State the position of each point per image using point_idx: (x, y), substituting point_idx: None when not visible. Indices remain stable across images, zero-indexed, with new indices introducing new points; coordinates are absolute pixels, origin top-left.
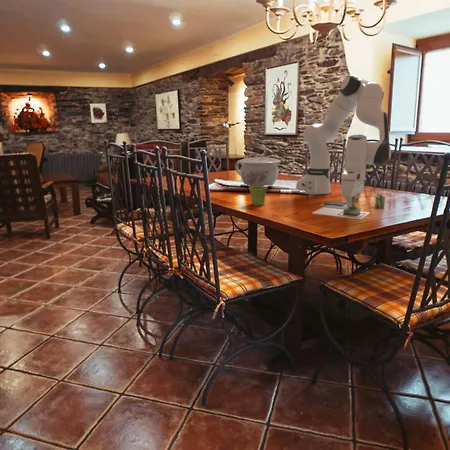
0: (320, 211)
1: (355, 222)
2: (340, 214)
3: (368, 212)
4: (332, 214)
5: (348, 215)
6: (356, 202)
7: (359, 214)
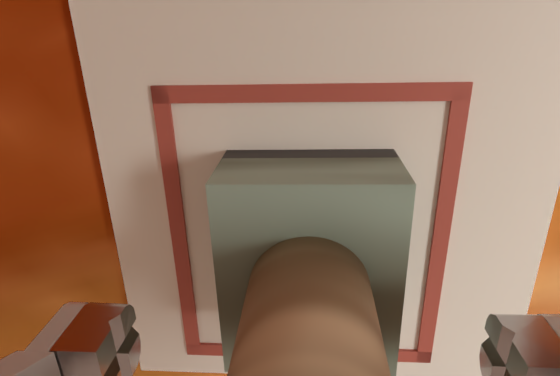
0: None
1: (7, 342)
2: (207, 115)
3: None
4: (135, 4)
5: None
6: (484, 368)
7: None
